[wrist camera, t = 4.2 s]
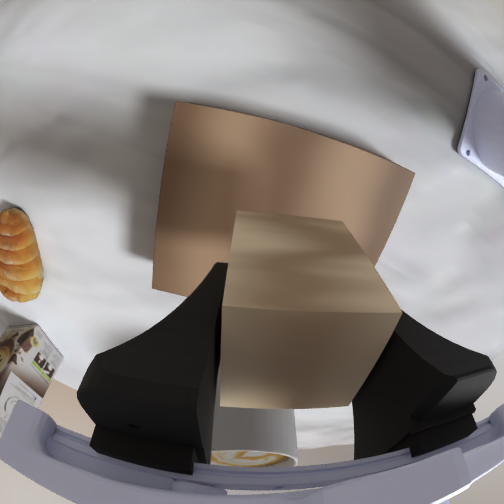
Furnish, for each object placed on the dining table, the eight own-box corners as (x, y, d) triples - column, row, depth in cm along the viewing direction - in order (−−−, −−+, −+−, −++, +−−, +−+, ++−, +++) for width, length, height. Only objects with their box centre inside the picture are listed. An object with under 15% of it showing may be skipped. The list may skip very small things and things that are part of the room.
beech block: (342, 220, 11) (402, 312, 6) (320, 303, 14) (348, 406, 8) (236, 210, 11) (222, 305, 6) (230, 298, 13) (220, 406, 8)
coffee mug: (294, 355, 26) (305, 447, 17) (287, 403, 31) (292, 475, 22) (161, 353, 26) (137, 438, 17) (181, 401, 31) (169, 470, 22)
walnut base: (393, 162, 17) (415, 173, 14) (333, 300, 22) (342, 325, 20) (188, 102, 15) (175, 101, 12) (163, 265, 21) (152, 288, 18)
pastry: (0, 196, 18) (-25, 212, 14) (44, 213, 19) (18, 233, 15) (8, 272, 22) (-10, 292, 19) (49, 293, 23) (32, 316, 20)
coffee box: (36, 321, 25) (-23, 423, 11) (65, 358, 28) (21, 457, 14) (6, 325, 26) (-44, 406, 12) (31, 356, 29) (-10, 438, 15)
